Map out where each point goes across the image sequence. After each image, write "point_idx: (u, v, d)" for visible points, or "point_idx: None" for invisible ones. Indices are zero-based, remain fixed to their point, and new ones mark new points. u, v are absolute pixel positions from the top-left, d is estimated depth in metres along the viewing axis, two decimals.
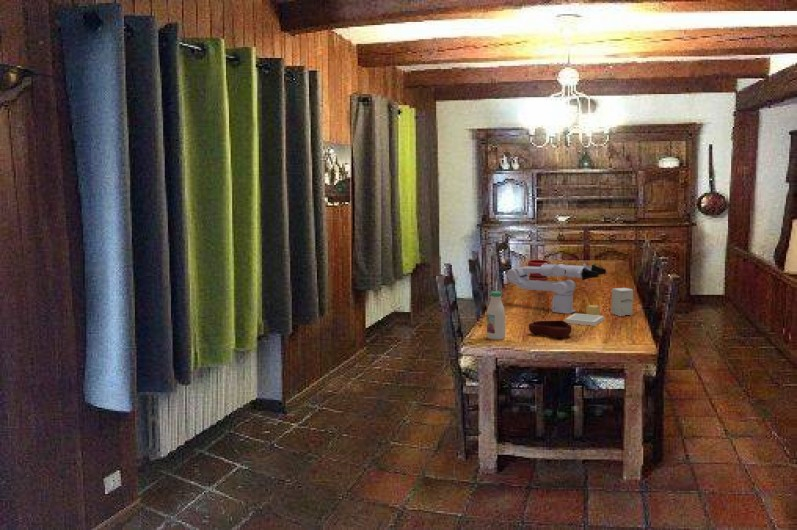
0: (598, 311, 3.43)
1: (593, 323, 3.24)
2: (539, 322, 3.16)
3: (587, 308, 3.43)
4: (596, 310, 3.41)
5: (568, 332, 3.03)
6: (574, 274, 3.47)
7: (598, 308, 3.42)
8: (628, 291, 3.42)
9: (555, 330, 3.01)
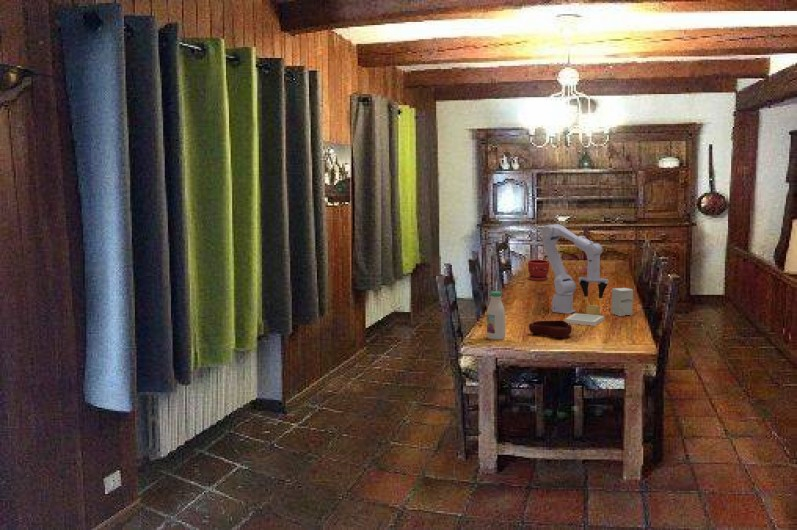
0: (598, 311, 3.43)
1: (593, 323, 3.24)
2: (539, 322, 3.16)
3: (587, 308, 3.43)
4: (596, 310, 3.41)
5: (568, 332, 3.03)
6: None
7: (598, 308, 3.42)
8: (628, 291, 3.42)
9: (555, 330, 3.01)
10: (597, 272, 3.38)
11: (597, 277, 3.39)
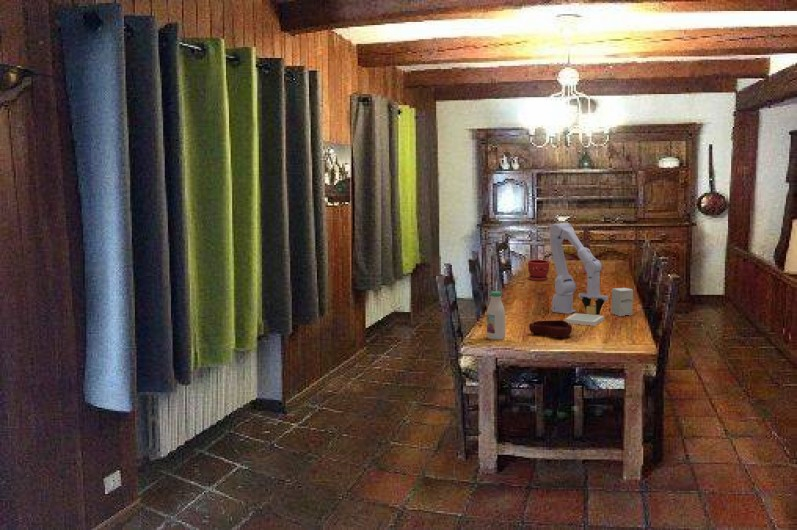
0: None
1: (593, 323, 3.24)
2: (539, 322, 3.16)
3: (587, 308, 3.43)
4: None
5: (568, 332, 3.03)
6: None
7: None
8: (628, 291, 3.42)
9: (555, 330, 3.01)
10: (597, 289, 3.39)
11: (597, 294, 3.40)
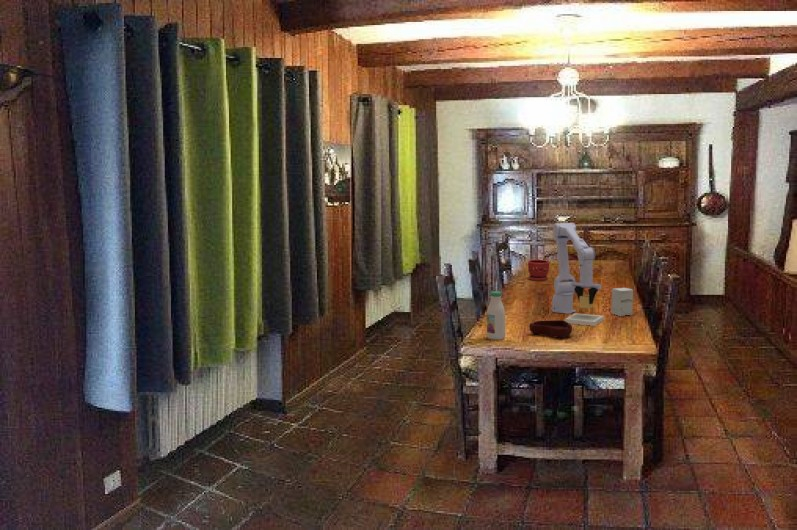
0: None
1: (593, 323, 3.24)
2: (540, 322, 3.16)
3: (580, 298, 3.33)
4: None
5: (569, 332, 3.03)
6: None
7: None
8: (628, 291, 3.42)
9: (556, 330, 3.02)
10: (590, 277, 3.29)
11: (590, 282, 3.30)
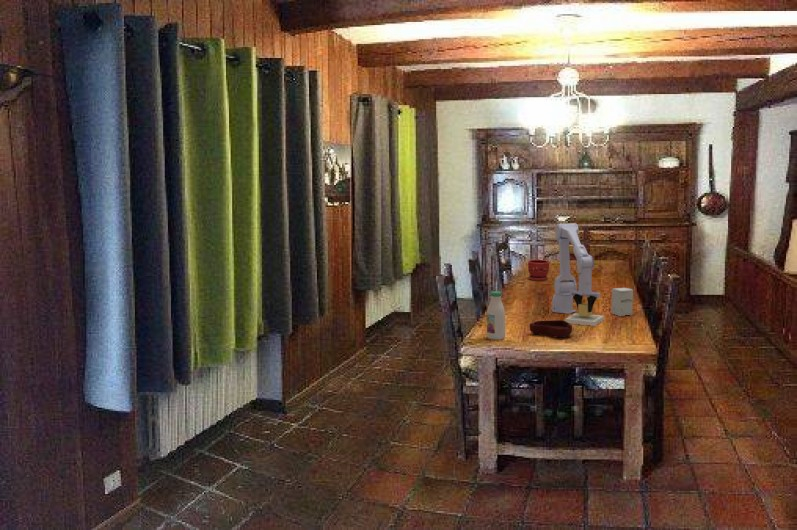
0: None
1: (593, 323, 3.24)
2: (540, 322, 3.16)
3: (579, 306, 3.33)
4: None
5: (569, 332, 3.03)
6: None
7: None
8: (628, 291, 3.42)
9: (556, 330, 3.02)
10: (589, 285, 3.29)
11: (589, 291, 3.29)
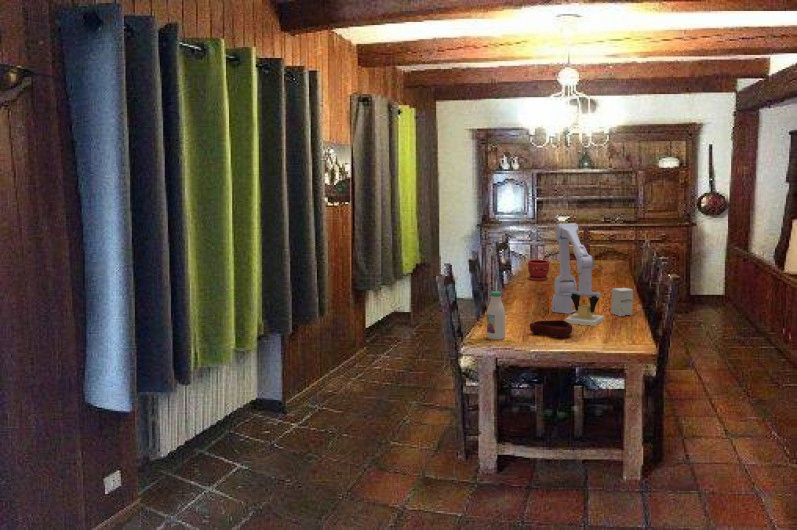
0: (590, 311, 3.33)
1: (593, 323, 3.24)
2: (540, 322, 3.16)
3: (579, 308, 3.33)
4: (588, 310, 3.31)
5: (569, 332, 3.03)
6: None
7: None
8: (628, 291, 3.42)
9: (556, 330, 3.02)
10: (589, 285, 3.29)
11: (589, 291, 3.29)
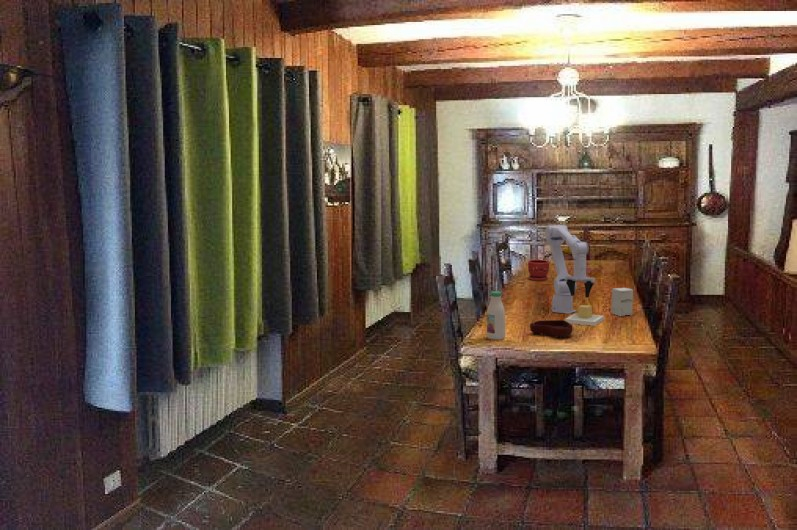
0: (590, 311, 3.33)
1: (593, 323, 3.24)
2: (540, 322, 3.16)
3: (579, 308, 3.33)
4: (588, 310, 3.31)
5: (569, 332, 3.04)
6: None
7: (590, 308, 3.32)
8: (628, 291, 3.42)
9: (556, 330, 3.02)
10: (583, 271, 3.36)
11: (583, 276, 3.37)
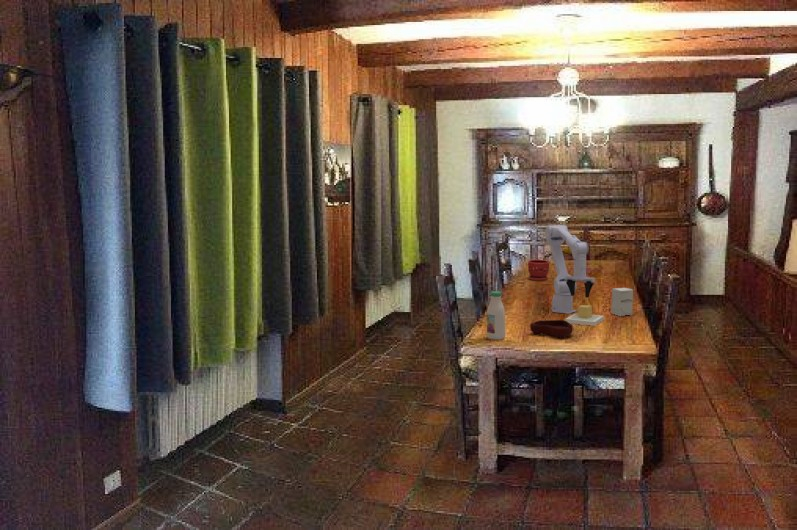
0: (590, 311, 3.33)
1: (593, 323, 3.24)
2: (540, 321, 3.17)
3: (579, 308, 3.33)
4: (588, 310, 3.31)
5: (569, 331, 3.04)
6: None
7: (590, 308, 3.32)
8: (628, 291, 3.42)
9: (556, 330, 3.02)
10: (583, 271, 3.36)
11: (583, 276, 3.37)
